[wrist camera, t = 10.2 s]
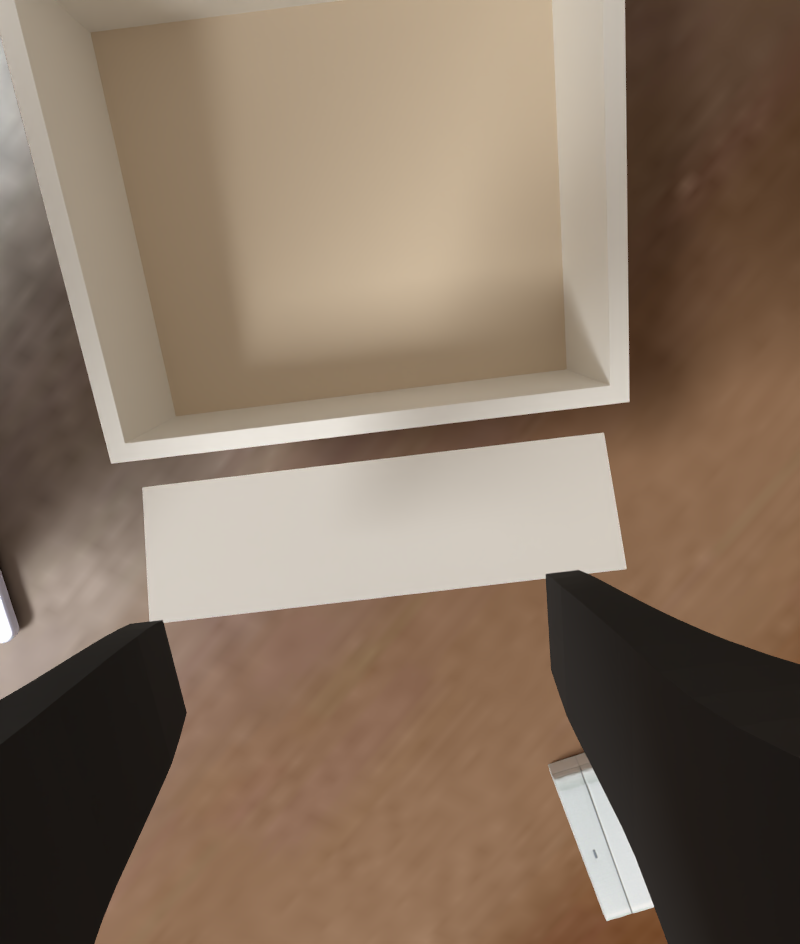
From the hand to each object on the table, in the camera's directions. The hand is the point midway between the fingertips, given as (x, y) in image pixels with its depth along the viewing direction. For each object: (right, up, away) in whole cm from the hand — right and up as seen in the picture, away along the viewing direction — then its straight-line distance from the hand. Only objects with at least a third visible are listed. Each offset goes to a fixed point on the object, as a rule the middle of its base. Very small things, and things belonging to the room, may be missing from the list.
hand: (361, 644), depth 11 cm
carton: (-1, +11, +8) cm, 14 cm away
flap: (0, +2, +5) cm, 5 cm away
